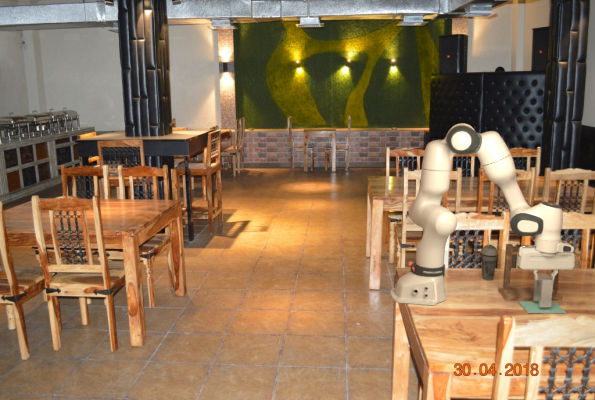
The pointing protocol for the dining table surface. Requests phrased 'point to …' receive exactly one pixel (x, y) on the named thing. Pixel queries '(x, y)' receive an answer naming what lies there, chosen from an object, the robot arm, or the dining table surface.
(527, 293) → the stand
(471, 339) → the dining table surface
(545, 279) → the tall rectangular pillar
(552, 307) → the mat
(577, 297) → the dining table surface
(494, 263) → the beverage cup
